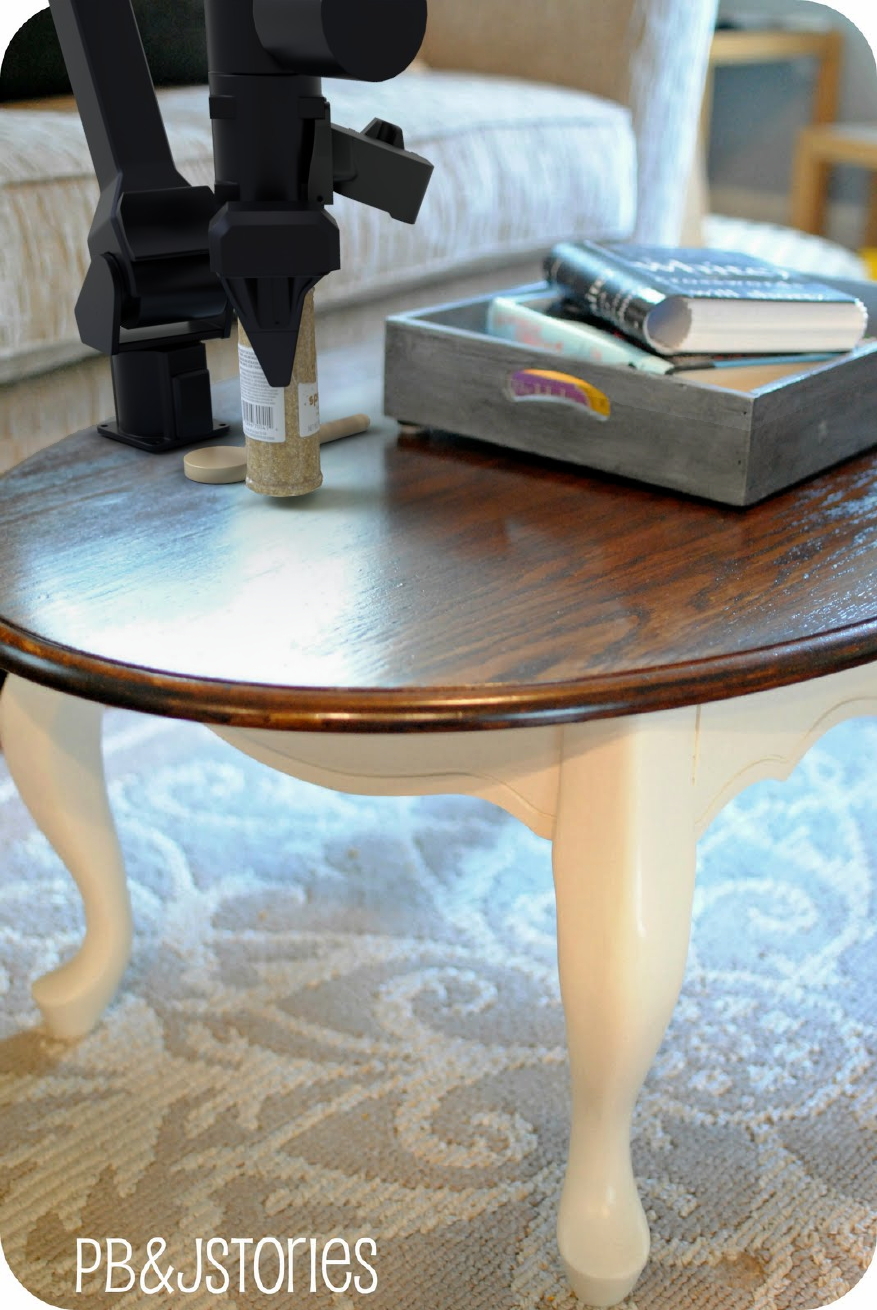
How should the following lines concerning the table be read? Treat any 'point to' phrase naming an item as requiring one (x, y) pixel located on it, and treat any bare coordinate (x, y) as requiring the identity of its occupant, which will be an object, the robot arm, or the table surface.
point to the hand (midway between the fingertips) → (278, 375)
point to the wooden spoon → (232, 461)
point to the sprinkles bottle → (282, 418)
